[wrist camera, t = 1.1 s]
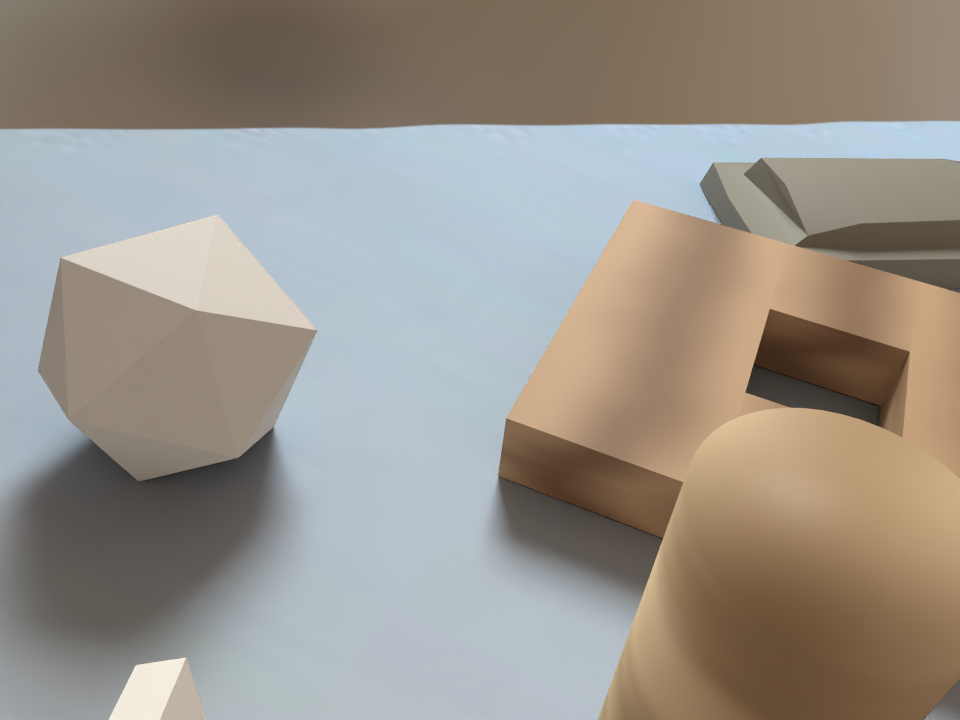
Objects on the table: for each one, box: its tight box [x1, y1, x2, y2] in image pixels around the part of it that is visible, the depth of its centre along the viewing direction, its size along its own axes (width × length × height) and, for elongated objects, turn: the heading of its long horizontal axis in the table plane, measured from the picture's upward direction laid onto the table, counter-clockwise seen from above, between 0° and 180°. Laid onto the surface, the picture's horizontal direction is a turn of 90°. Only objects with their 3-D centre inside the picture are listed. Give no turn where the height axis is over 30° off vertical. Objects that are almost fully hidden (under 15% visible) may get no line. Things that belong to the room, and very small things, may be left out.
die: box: [38, 215, 317, 482], centre depth 30 cm, size 8×9×10 cm
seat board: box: [498, 200, 960, 538], centre depth 34 cm, size 20×16×3 cm
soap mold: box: [700, 158, 960, 289], centre depth 46 cm, size 10×20×4 cm, turn 97°
